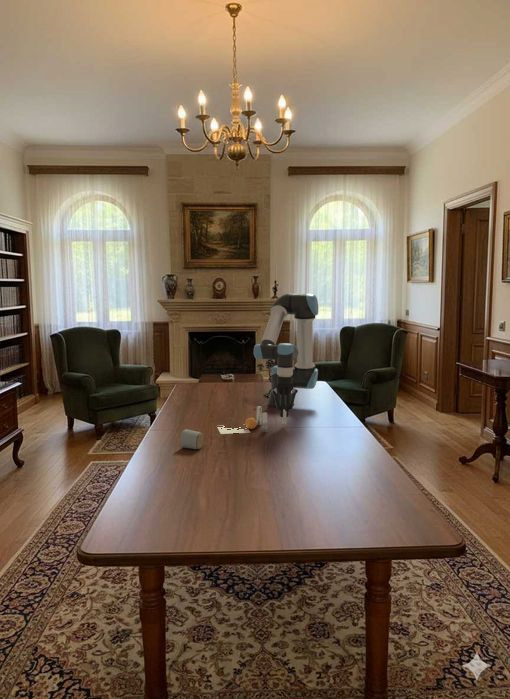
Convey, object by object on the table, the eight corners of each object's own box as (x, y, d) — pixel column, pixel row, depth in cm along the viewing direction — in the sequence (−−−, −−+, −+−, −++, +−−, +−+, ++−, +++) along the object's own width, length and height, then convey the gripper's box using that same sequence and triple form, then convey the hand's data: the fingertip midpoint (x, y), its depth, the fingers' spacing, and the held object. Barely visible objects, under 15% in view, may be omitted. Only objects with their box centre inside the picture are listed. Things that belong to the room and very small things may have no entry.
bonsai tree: (252, 391, 330) (253, 343, 326) (289, 391, 330) (290, 343, 326) (252, 403, 295) (253, 349, 291) (293, 403, 295) (295, 350, 292)
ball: (257, 420, 244) (249, 413, 242) (260, 423, 238) (251, 417, 237) (250, 429, 244) (242, 422, 242) (253, 432, 238) (244, 426, 237)
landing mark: (244, 424, 247) (244, 424, 247) (250, 432, 234) (250, 432, 234) (216, 426, 245) (216, 425, 245) (220, 434, 231) (220, 433, 231)
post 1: (260, 423, 250) (261, 406, 249) (262, 425, 247) (262, 407, 246) (256, 424, 249) (256, 406, 248) (257, 425, 247) (257, 407, 246)
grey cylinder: (197, 452, 206) (197, 433, 205) (179, 449, 208) (179, 431, 208) (208, 445, 216) (208, 427, 215) (190, 442, 218) (190, 425, 218)
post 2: (266, 430, 238) (267, 412, 236) (267, 432, 235) (268, 413, 234) (261, 431, 237) (261, 412, 236) (262, 432, 235) (263, 413, 233)
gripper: (295, 373, 246) (294, 420, 249) (269, 374, 244) (269, 421, 246) (300, 376, 239) (299, 424, 242) (273, 377, 236) (272, 426, 239)
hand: (283, 423), depth 244 cm, fingers closed
